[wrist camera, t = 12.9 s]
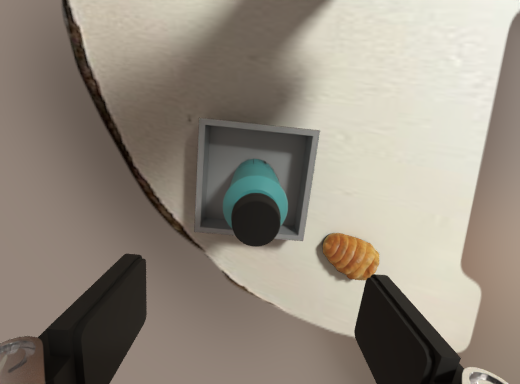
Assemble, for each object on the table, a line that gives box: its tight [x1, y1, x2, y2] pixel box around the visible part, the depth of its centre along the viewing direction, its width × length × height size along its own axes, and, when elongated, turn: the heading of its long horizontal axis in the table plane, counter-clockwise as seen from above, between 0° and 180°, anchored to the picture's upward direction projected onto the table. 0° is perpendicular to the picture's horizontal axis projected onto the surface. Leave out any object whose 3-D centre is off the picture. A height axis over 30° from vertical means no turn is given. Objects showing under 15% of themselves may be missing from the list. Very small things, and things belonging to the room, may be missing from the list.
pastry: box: [323, 233, 379, 280], centre depth 41 cm, size 9×7×4 cm
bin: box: [194, 118, 320, 241], centre depth 37 cm, size 16×16×5 cm
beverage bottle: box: [223, 158, 288, 246], centre depth 29 cm, size 6×7×20 cm
